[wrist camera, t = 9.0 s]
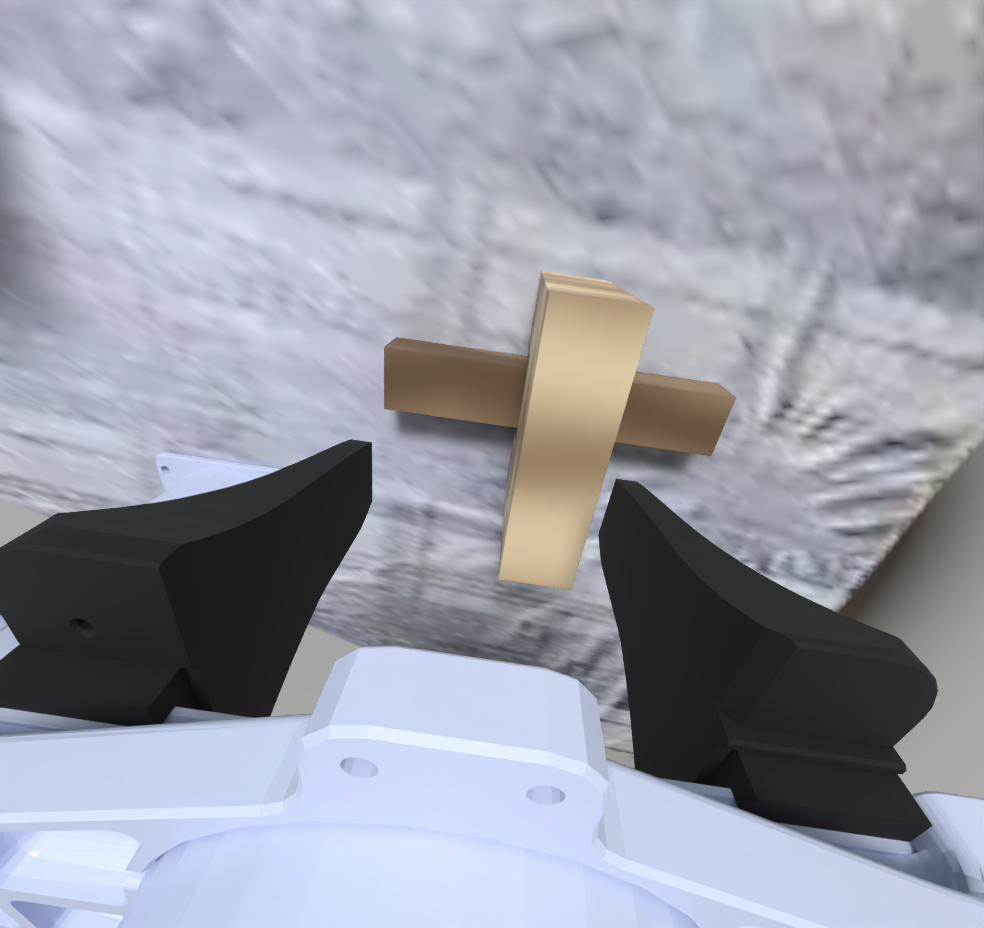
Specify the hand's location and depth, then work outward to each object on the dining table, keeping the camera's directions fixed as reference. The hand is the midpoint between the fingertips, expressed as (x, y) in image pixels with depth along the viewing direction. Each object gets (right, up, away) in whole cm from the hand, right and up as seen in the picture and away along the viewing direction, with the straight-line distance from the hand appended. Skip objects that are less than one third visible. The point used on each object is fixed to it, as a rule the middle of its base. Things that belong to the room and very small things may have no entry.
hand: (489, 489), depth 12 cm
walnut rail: (+3, +5, +9) cm, 11 cm away
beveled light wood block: (+3, +4, +9) cm, 11 cm away
